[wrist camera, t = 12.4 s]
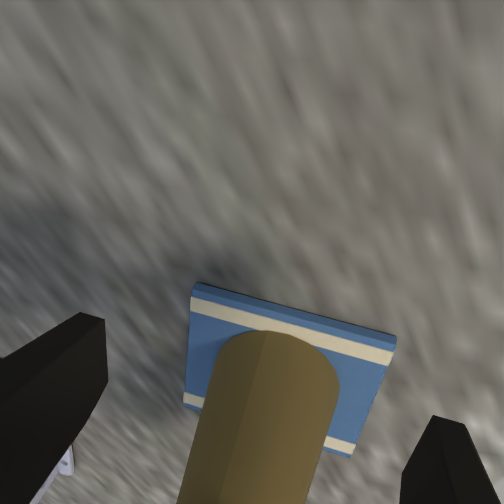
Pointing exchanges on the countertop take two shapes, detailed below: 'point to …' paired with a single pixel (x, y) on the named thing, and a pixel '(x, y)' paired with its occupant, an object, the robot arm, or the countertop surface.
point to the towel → (300, 326)
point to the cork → (261, 422)
